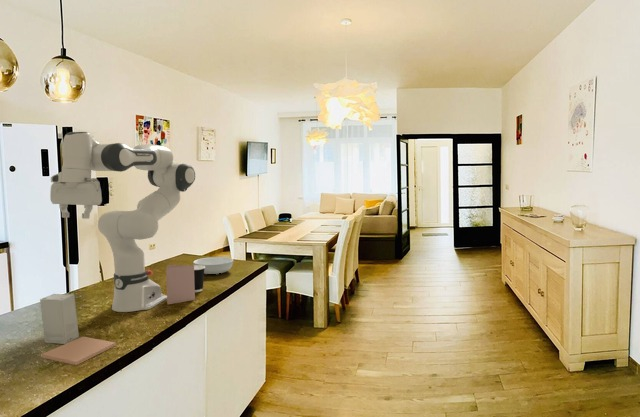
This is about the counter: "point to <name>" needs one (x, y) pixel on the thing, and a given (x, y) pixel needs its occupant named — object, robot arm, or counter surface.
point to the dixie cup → (198, 277)
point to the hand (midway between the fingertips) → (75, 218)
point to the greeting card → (180, 283)
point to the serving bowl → (215, 264)
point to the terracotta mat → (78, 350)
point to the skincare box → (59, 318)
